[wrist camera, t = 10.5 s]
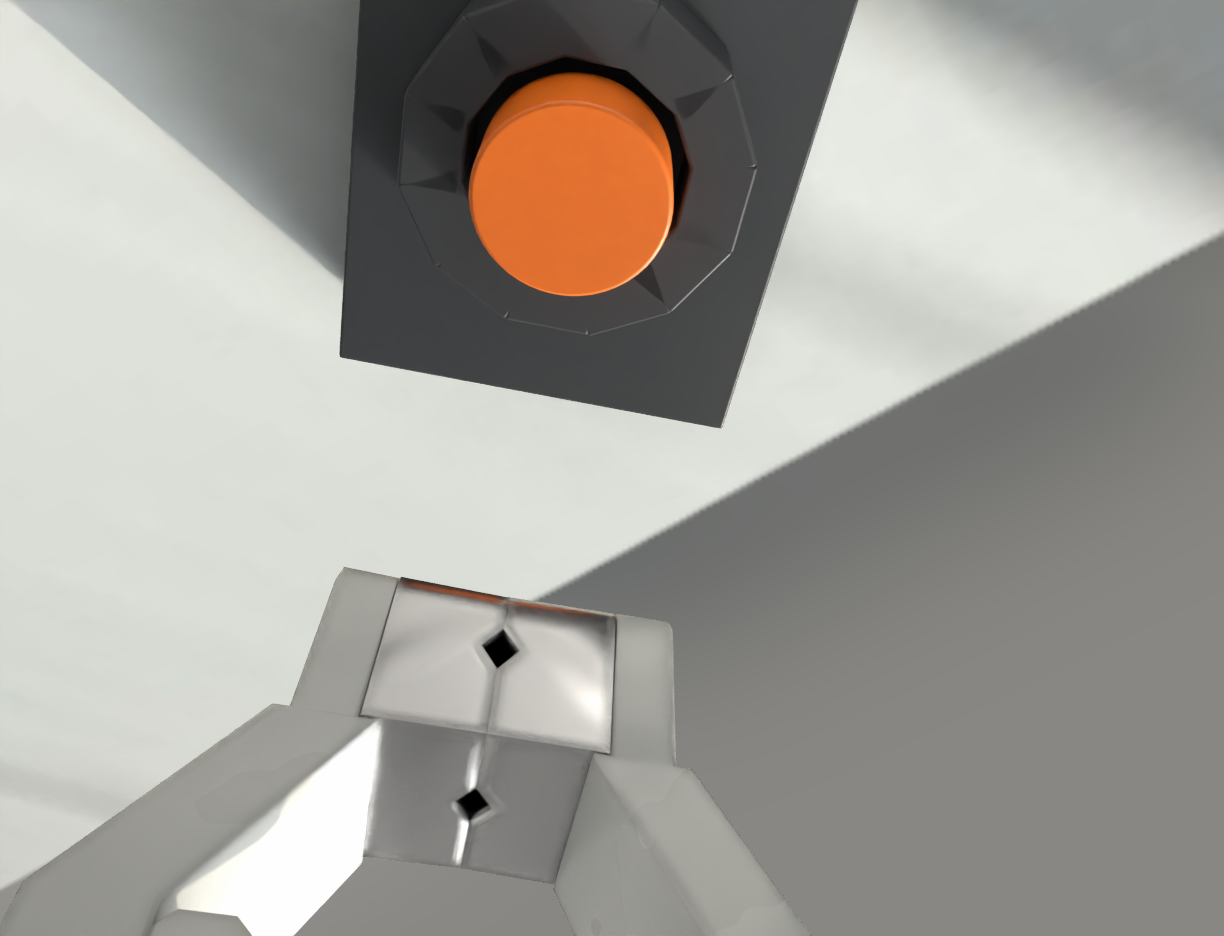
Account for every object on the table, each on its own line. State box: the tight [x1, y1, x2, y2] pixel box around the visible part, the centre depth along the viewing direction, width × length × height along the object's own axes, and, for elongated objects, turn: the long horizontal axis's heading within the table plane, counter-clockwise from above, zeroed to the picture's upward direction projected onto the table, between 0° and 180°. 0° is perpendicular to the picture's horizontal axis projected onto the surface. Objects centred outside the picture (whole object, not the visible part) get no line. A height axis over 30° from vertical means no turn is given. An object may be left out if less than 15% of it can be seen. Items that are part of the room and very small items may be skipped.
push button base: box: [340, 0, 858, 428], centre depth 21 cm, size 12×9×4 cm
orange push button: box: [469, 72, 674, 296], centre depth 19 cm, size 4×4×2 cm
